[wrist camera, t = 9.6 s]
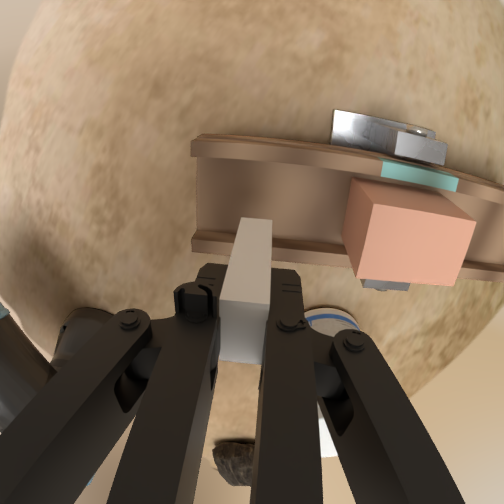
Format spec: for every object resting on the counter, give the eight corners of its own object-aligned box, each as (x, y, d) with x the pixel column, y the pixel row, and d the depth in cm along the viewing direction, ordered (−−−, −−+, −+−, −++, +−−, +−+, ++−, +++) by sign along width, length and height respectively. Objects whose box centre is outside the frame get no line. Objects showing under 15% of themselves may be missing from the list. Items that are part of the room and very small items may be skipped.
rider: (341, 236, 22) (356, 278, 17) (351, 176, 20) (373, 203, 15) (424, 246, 21) (453, 285, 17) (439, 192, 19) (476, 221, 14)
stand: (315, 242, 31) (325, 291, 23) (333, 108, 24) (356, 113, 17) (404, 251, 30) (434, 298, 23) (432, 130, 24) (480, 146, 16)
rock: (203, 441, 52) (203, 485, 43) (254, 429, 50) (260, 476, 41) (227, 456, 57) (230, 495, 48) (275, 445, 55) (281, 486, 46)
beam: (213, 214, 28) (190, 254, 22) (215, 127, 25) (189, 140, 18) (486, 247, 27) (523, 286, 20) (507, 180, 23) (553, 208, 16)
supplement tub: (291, 299, 34) (292, 411, 21) (369, 308, 34) (400, 413, 21) (276, 356, 39) (271, 457, 26) (345, 363, 39) (359, 458, 26)
